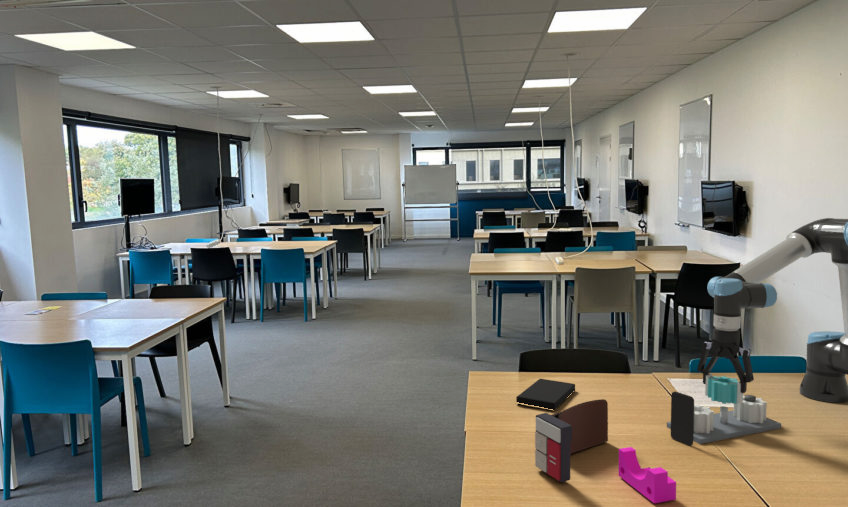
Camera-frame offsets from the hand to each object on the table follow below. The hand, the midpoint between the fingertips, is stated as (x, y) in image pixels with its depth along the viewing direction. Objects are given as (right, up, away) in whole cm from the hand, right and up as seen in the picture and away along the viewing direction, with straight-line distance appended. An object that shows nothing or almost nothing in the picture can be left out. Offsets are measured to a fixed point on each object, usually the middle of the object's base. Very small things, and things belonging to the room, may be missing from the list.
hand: (723, 398), depth 188 cm
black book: (-49, -8, +33) cm, 60 cm away
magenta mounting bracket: (-37, -15, -34) cm, 53 cm away
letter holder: (-50, -12, -8) cm, 52 cm away
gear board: (+1, -10, +1) cm, 10 cm away
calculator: (-60, -14, -26) cm, 67 cm away
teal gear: (0, 0, 0) cm, 0 cm away
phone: (-17, -11, -9) cm, 22 cm away
